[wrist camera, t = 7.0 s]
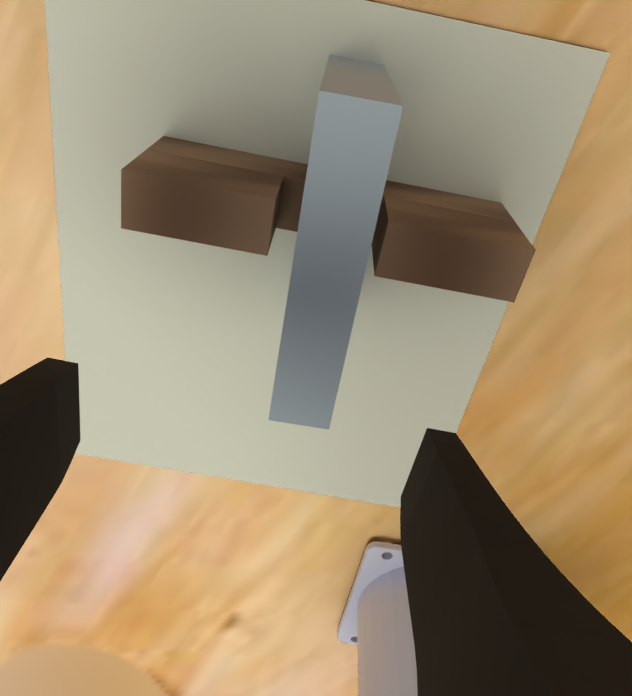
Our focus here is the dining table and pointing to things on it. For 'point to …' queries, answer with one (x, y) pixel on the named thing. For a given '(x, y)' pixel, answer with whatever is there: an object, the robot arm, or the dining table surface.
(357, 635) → the robot arm
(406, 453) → the felt mat
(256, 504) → the dining table surface
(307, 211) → the grey flat block
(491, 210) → the walnut slotted plate
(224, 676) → the dining table surface
